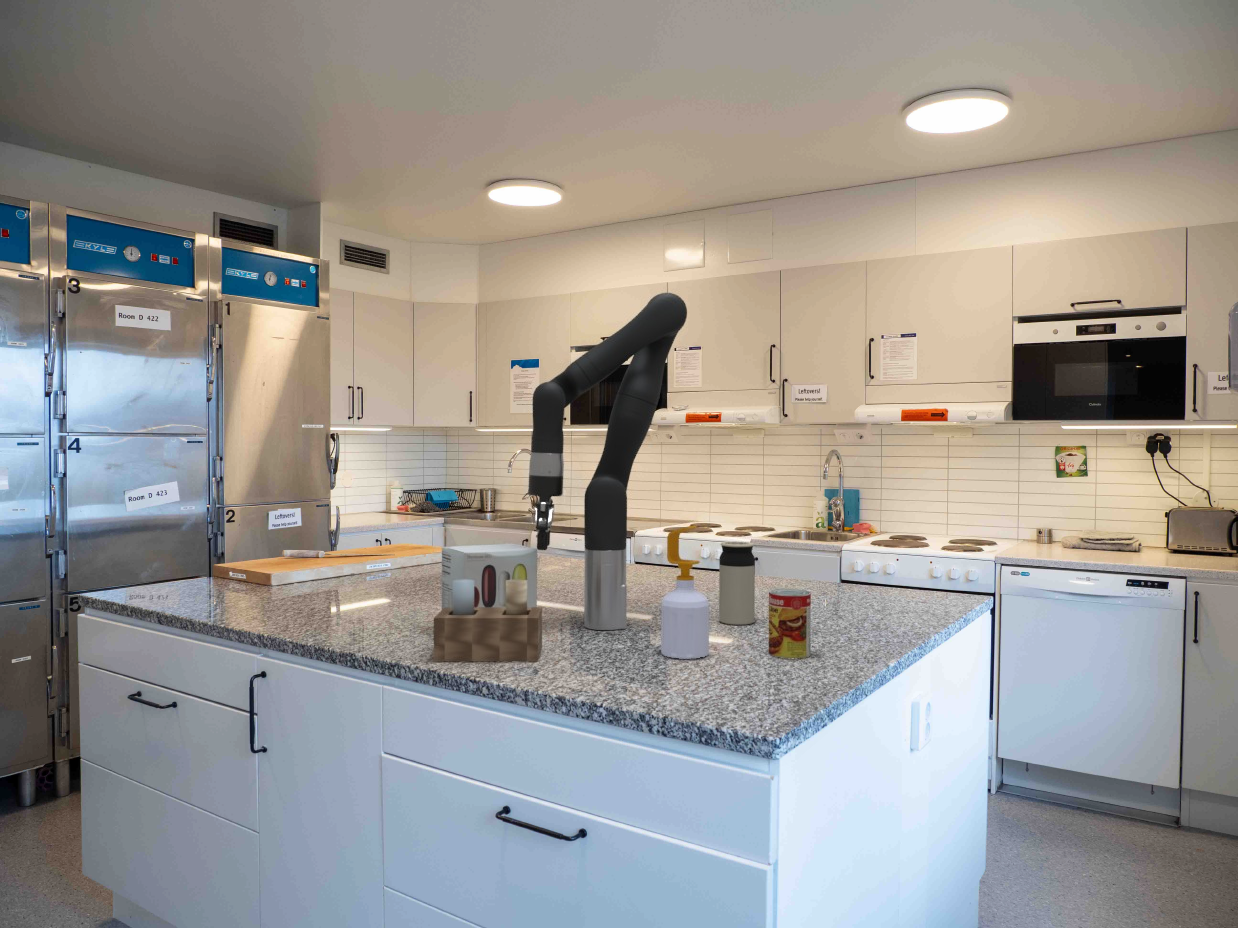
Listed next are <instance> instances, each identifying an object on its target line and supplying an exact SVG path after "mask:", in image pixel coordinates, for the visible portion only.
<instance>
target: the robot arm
mask: <svg viewBox="0 0 1238 928" xmlns="http://www.w3.org/2000/svg"><path fill="white" fill-rule="evenodd" d="M687 317H688V308H687V304H686V303H685V301H684V299H682V298H681V297H680V296H679V295H678V294H675V293H673V292H661V293H659V294H656V295H655V296H653V297H652V298H651V299H649V301H647V304H646V305H645V306H644V307H643V308H642V309H641V310H640V311H639V313H637V314H636V315H635V317H632V319H631V320H630V321H628V322H627V323H626V324H625V325H624V326H622V327H621V328H620V329H619V330H618V331H616V332H614V333H613V334H612V335H610V336H609V337H607V338H606V339H603V341H602V342H599V343H598V344H597V345H595V346H594V347H592V348H591V349H589V350H588V351H586V352H585V353H584V354H582V355H581V356H580V357H577V358H576V359H575V360H574V361H572V362H571V363H570V364H569V365H568V366H566V368H565V369H564V370H563V371H562V372H561V373H559V374H558V375H556V376H555V377H553V378H552V379H550V380H549V381H546V382H542V383H540V384H538V386H537V387H535V389H534V391H533V393H532V432H531V433H532V434H531V444H530V445H531V447H530V457H529V468H528V469H529V471H528V490H527V492H528V495H530V496H535V497H539V499H538V501H537V503H536V504H535V506H534V507H535V508H534V510H535V518H534V520H535V524H536V525H535V529H536V533H537V537H536V538H537V539H536V549H537V551H546V550H548V546H550V545H551V529H552V524H553V522H554V512H555V504H554V500H553V499H552V497H561V496H563V493H564V491H563V489H564V468H565V467H564V465H565V463H564V443H565V442H564V440H565V439H564V430H563V426H564V416H565V409H566V408H567V407H568V406H569V405H571V404H572V403H573V402H574V401H575V400H577V399H578V398H579V397H580V396H582V394H585V393H586V392H587V391H590V390H591V389H592V388H594V387H595V386H596V385H598V384H599V383H600V382H602V381H604V380H605V379H606V378H608V377H609V376H610V375H612V374H613V373H614V372H615V371H617V370H618V369H619V368H621V366H622V365H624V363H626V362H627V361H628V360H629V359H630V358H631V360H630V362H629V364H628V368H627V369H626V371H625V373H624V375H623V378H622V381H621V383H620V385H619V388H618V391H617V393H616V397H615V399H614V403H613V406H612V410H611V413H610V415H609V419H608V420H609V421H608V424H607V430H606V436H605V441H604V445H603V450H602V453H601V456H600V460H599V462H598V464H597V466H596V469H595V471H594V474H593V475H592V478H591V480H590V481H589V482H588V484H587V487H586V489H585V492H584V501H583V502H584V513H583V514H584V518H583V519H584V525H583V526H584V530H583V532H584V536H583V538H584V589H583V590H584V596H583V598H584V602H583V603H584V606H583V607H584V608H583V609H584V613H583V615H584V616H583V621H584V623H583V624H584V628H586V629H589V630H597V631H613V630H621V629H623V630H624V629H625V630H626V629H627V604H628V603H627V594H628V593H627V592H628V591H627V589H628V587H627V537H628V536H627V535H628V495H627V490H628V486H629V485H628V484H629V481H630V476H631V474H632V473H631V472H632V469H633V465H634V462H635V459H636V457H637V454H638V453H639V451H640V449H641V446H643V443H644V441H645V440H646V437H647V434H648V432H649V430H650V427H651V424H652V422H653V419H654V417H655V414H656V409H657V406H658V403H659V399H660V394H661V390H662V383H663V377H664V371H665V367H666V366H665V365H666V362H667V359H668V356H669V353H670V352H671V348H672V346H673V344H674V341H675V339H676V338H677V335H678V333H679V332H680V331H681V330H682V328H683V327H684V325H685V323H686V322H687Z"/></svg>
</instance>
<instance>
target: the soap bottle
mask: <svg viewBox="0 0 1238 928" xmlns="http://www.w3.org/2000/svg"><path fill="white" fill-rule="evenodd" d="M696 528H697V525H691V526H689V525H688V526H686V527H682V528H678V529H676V530H671V531H670V532H669V533H668V534H667V537H666V540H667V541H666V544H667V545H666V546H667V547H666V559H667V562H668V563H670V564H671V565H677V568H678V569H680V575H676V587H675V588H674V589H673V590H671V591H670V592H668V593H667V594H666V595H665V596H663V598H662V601H661V602H660V603H661V605H660V607H661V611H660V612H661V613H660V614H661V616H660V617H661V618H660V620H661V621H660V627H661V628H660V634H661V636H660V641H661V642H660V644H661V645H660V650H661V655H663V656H665V657H666V656H667V657H666V658H669V657H672V658H671V659H673V658H679V659H678V660H683V659H690V660H692V659H691V658H700V657H703V658H705V656H706V657H707V656H708V655H710V654H709V653H710V650H709V649H710V604H709V601H708V599H707V597H706V596H705V595H704V594H703V593H701V592H700V591H698V590H696V588H695V577H694V576H693V575H691V574H690V569H693V566H694V565H698V564H700V560H692V559H691V560H690V559H682V558H681V557H680V554H679V553H680V551H679V550H680V535H681V534H682V533H683V532H686V531H689V530H693V529H696ZM700 659H701V658H700Z"/></svg>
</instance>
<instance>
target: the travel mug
mask: <svg viewBox="0 0 1238 928" xmlns="http://www.w3.org/2000/svg"><path fill="white" fill-rule="evenodd" d="M754 545H755V543H753V542H747V541H724V542H720V546H721V548H722V549H721V550H722V552H721V554H720V556H719V561H718V562H719V565H718V566H719V571H718V572H719V574H718V575H719V579H718V580H719V583H718V584H719V585H718V587H719V591H718V592H719V593H718V595H719V596H718V597H719V599H718V603H719V605H718V606H719V607H718V608H719V609H718V618H719V619H718V620H719V622H721V623H722V624H725V625H731V626H747V625H751V624H753V623H755V617H756V616H755V613H756V612H755V607H756V606H755V605H756V603H755V601H756V600H755V598H756V597H755V592H756V586H755V585H756V580H755V579H756V578H755V577H756V570H755V569H756V564H755V563H756V557H755V555H754V553H753V547H754Z"/></svg>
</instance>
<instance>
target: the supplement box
mask: <svg viewBox="0 0 1238 928" xmlns="http://www.w3.org/2000/svg"><path fill="white" fill-rule="evenodd" d="M459 579H471V580H474V607H506V580H512V579H523V580H527V607H538V606H537V603H538V601H537V600H538V549H537V548H535V547H532V546H527V545H522V544H517V543H513V542H511V543H510V542H509V543H494V544H493V543H491V544H490V543H489V544H475V545H474V544H472V545H471V544H470V545H455V546H452V545H451V546H441V611H442V610H443V609H444V608H445V607H453V580H459Z"/></svg>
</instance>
